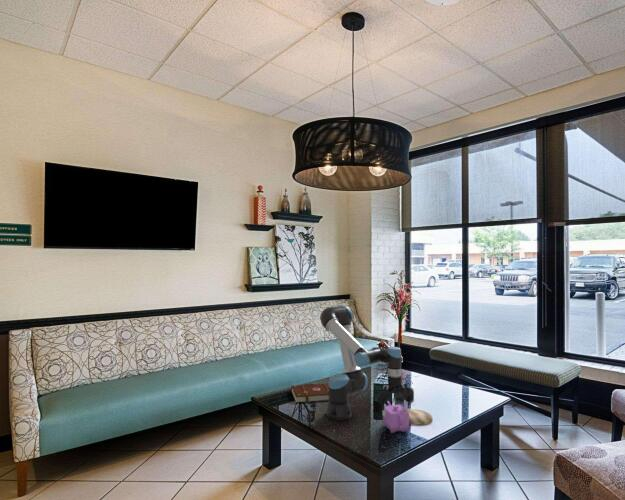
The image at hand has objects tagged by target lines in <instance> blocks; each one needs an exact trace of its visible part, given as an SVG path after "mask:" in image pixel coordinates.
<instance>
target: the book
mask: <svg viewBox="0 0 625 500" xmlns="http://www.w3.org/2000/svg"><path fill="white" fill-rule="evenodd" d="M290 392H291V394H292V396H293V399H294V402H295V403H309V402H323V401H329V383H315V384H301V385H291V387H290Z"/></svg>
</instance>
